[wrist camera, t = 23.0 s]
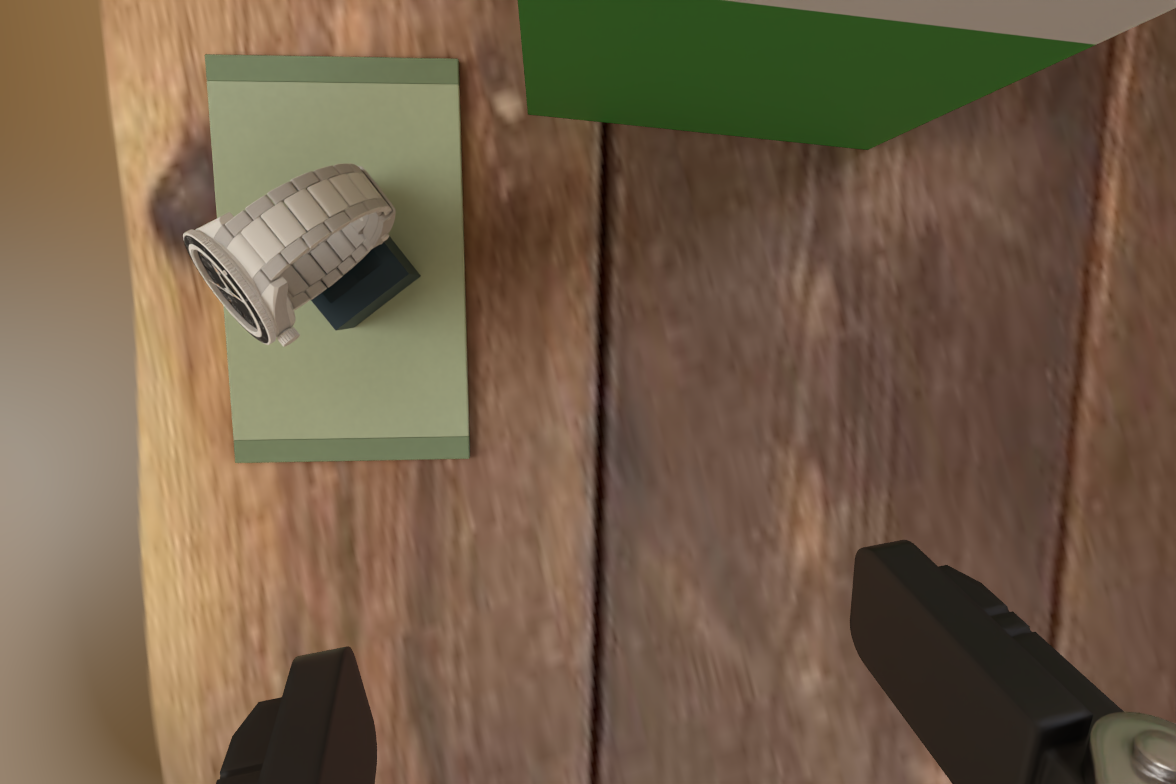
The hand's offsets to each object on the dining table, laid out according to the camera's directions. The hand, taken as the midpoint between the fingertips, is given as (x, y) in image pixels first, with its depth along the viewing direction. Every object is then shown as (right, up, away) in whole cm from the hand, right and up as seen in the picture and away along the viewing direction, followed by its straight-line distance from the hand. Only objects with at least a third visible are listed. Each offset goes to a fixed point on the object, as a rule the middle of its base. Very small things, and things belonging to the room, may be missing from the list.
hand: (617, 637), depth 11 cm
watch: (-12, +10, +24) cm, 29 cm away
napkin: (-13, +10, +24) cm, 29 cm away
